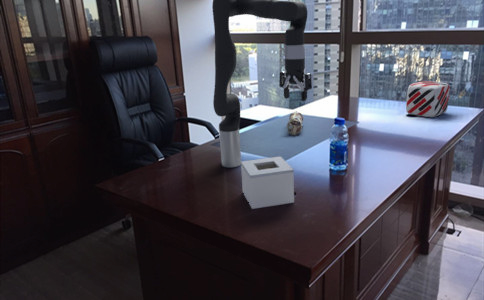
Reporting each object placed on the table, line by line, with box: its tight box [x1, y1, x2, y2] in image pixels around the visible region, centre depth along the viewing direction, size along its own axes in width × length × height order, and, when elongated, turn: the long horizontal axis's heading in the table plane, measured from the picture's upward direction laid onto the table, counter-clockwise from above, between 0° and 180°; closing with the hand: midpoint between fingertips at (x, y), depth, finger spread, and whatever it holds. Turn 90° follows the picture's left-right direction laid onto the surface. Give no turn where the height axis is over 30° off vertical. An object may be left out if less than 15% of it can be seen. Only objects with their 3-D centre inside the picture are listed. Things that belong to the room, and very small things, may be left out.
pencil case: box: [286, 111, 304, 136], centre depth 237 cm, size 22×8×10 cm, turn 169°
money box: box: [240, 156, 295, 210], centre depth 151 cm, size 15×16×13 cm
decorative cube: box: [405, 80, 451, 118], centre depth 253 cm, size 20×20×20 cm
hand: (295, 99), depth 156 cm, fingers open, 8 cm apart
